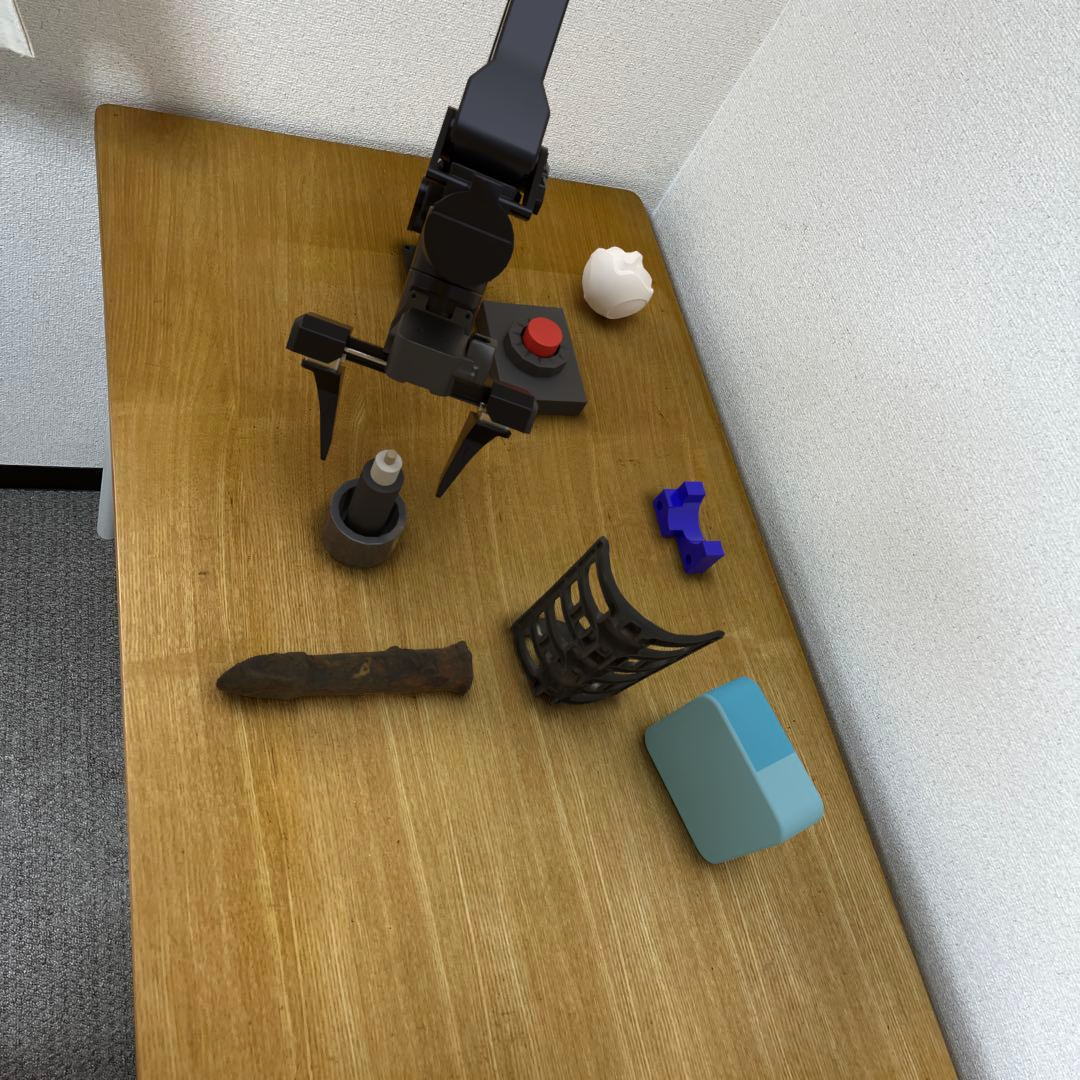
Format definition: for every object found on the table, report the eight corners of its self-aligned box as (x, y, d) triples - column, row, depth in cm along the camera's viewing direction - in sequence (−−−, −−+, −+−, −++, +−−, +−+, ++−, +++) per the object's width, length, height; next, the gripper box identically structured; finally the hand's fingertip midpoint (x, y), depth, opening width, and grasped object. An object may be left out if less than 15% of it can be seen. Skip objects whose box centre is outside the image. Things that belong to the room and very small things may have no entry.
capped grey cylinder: (335, 520, 76) (364, 438, 65) (371, 512, 77) (404, 432, 67) (348, 553, 75) (378, 475, 64) (384, 544, 76) (419, 468, 66)
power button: (519, 327, 89) (525, 315, 88) (552, 329, 90) (558, 318, 89) (526, 356, 88) (532, 345, 86) (559, 358, 89) (566, 347, 88)
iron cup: (318, 503, 76) (326, 476, 73) (390, 503, 79) (401, 477, 75) (325, 569, 74) (334, 545, 70) (399, 567, 76) (411, 543, 73)
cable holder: (652, 501, 90) (671, 481, 86) (682, 501, 91) (701, 481, 88) (672, 574, 86) (693, 555, 83) (703, 573, 88) (724, 555, 84)
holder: (630, 656, 80) (743, 579, 62) (604, 734, 76) (716, 676, 59) (519, 603, 79) (603, 509, 61) (488, 679, 75) (567, 603, 58)
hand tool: (459, 653, 75) (475, 632, 71) (464, 700, 73) (481, 681, 69) (217, 654, 68) (220, 630, 64) (216, 706, 66) (219, 685, 62)
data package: (745, 845, 76) (833, 816, 66) (705, 868, 73) (790, 842, 64) (677, 715, 79) (751, 669, 69) (638, 733, 77) (708, 688, 67)
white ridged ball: (645, 313, 102) (678, 265, 96) (612, 345, 98) (644, 297, 91) (592, 268, 102) (621, 217, 96) (556, 298, 98) (584, 247, 92)
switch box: (475, 315, 93) (487, 289, 89) (554, 322, 96) (568, 297, 93) (496, 412, 88) (509, 388, 84) (578, 415, 91) (594, 392, 88)
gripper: (312, 229, 57) (243, 459, 60) (582, 333, 61) (504, 543, 64) (326, 237, 67) (267, 432, 71) (555, 325, 72) (490, 505, 75)
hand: (381, 478), depth 70 cm, fingers open, 9 cm apart
